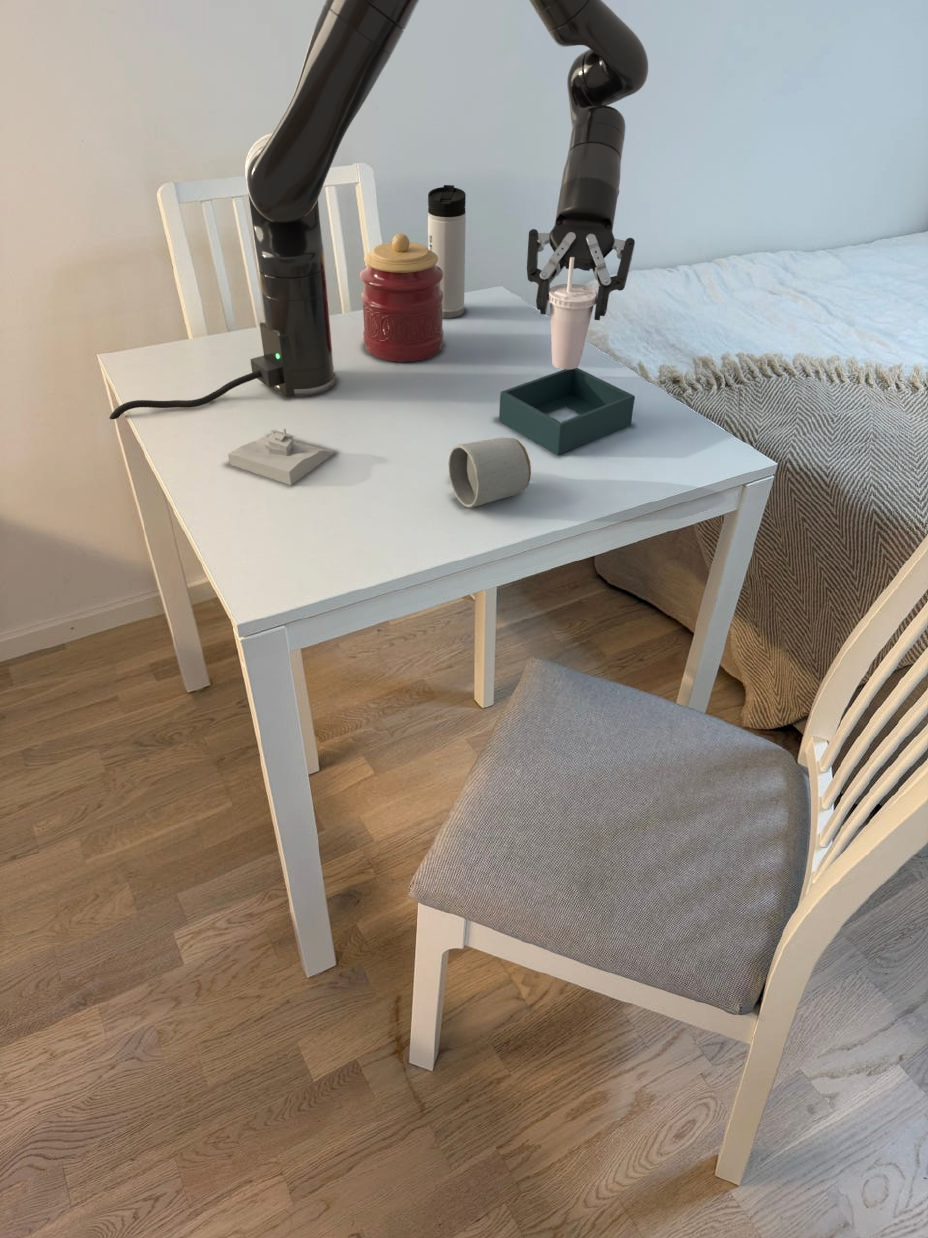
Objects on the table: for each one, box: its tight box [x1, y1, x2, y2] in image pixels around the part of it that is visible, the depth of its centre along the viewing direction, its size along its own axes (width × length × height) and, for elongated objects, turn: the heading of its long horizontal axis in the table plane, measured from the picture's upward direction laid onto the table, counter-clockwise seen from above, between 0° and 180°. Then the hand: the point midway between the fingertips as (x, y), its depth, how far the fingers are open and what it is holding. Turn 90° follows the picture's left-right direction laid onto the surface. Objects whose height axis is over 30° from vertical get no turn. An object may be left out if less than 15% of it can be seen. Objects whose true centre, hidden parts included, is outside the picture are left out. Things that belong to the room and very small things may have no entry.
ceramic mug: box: [448, 437, 532, 509], centre depth 109 cm, size 11×8×8 cm
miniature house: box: [227, 428, 335, 486], centre depth 115 cm, size 12×11×4 cm
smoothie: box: [548, 257, 598, 370], centre depth 115 cm, size 6×6×14 cm
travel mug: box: [427, 184, 467, 319], centre depth 150 cm, size 6×7×20 cm
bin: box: [498, 367, 636, 456], centre depth 124 cm, size 14×12×4 cm
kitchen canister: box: [359, 233, 444, 363], centre depth 139 cm, size 13×13×18 cm
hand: (570, 314), depth 114 cm, fingers closed on smoothie, 6 cm apart
